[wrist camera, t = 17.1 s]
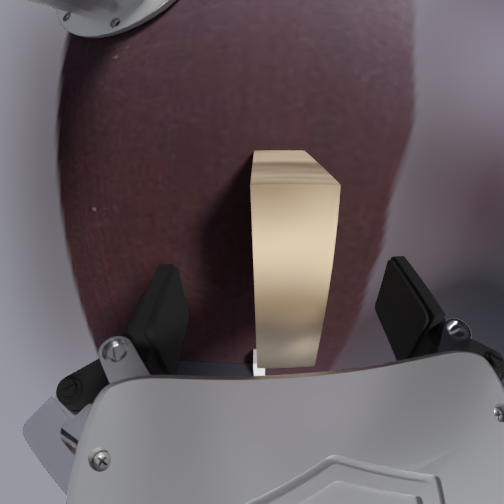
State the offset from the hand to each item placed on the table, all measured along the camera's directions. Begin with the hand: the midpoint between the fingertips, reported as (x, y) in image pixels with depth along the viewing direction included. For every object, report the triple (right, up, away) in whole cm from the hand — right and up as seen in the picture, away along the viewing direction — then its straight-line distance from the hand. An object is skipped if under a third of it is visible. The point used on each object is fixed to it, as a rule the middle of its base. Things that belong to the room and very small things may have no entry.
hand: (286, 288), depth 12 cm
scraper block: (+1, +4, +9) cm, 10 cm away
